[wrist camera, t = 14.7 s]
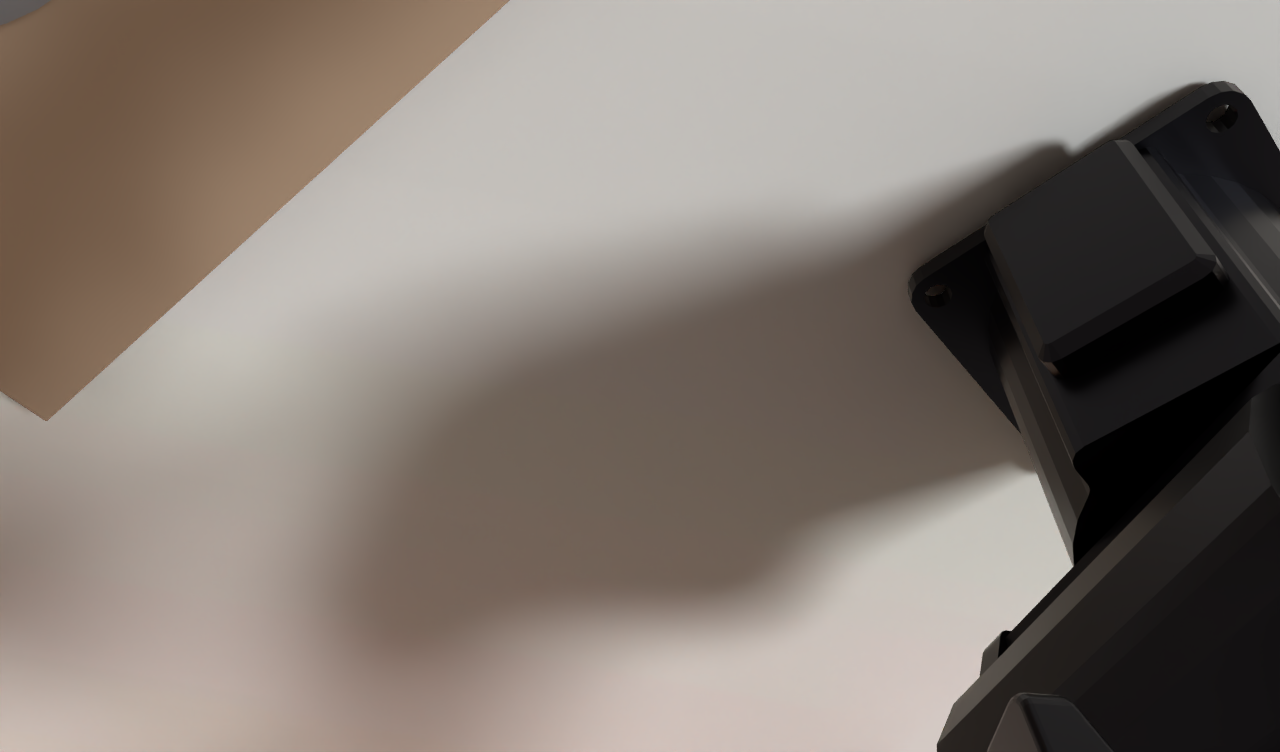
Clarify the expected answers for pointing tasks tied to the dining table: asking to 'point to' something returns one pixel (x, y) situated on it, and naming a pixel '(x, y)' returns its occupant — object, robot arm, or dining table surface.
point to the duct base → (172, 150)
